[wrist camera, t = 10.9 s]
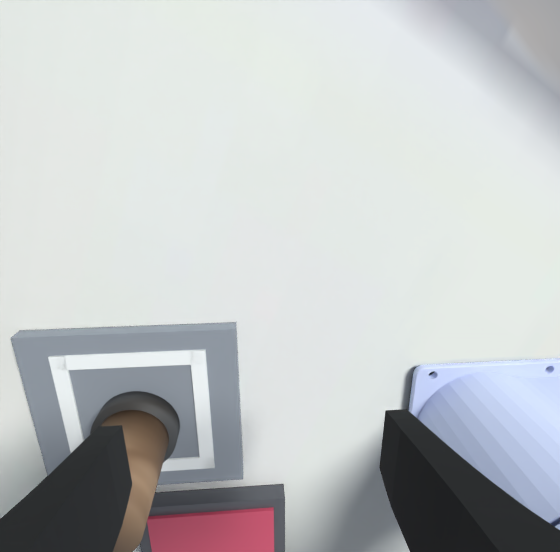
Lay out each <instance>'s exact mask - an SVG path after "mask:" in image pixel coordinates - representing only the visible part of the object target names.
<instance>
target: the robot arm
mask: <svg viewBox="0 0 560 552" xmlns="http://www.w3.org/2000/svg"><path fill="white" fill-rule="evenodd" d="M547 367H548V368H547ZM546 368H547V369H546ZM433 371H434V373H433V374H432V375H429V373H431V372H433ZM380 471H381V474H382V478H383V481H384V485H385V488H386V491H387V495H388V498H389V501H390V504H391V507H392V509H393V512H394V514H395V517H396V519H397V522H398V524H399V526H400V529H401V531H402V533H403V536H404V538H405V541H406V543H407V545H408V548H409V550H410V552H560V358H556V359H535V360H514V361H493V362H472V363H451V364H429V365H420V366H418V367H416V369H415V370H414V372H413V380H412V387H411V395H410V403H409V411H408V410H407V409H406V410H388V411H386V412H385V421H384V431H383V440H382V450H381V459H380ZM131 488H132V479H131V473H130V467H129V462H128V456H127V450H126V445H125V439H124V433H123V427H122V425H117V426H99V427H98V428H97V429H96V430H95V431H93V432H92V433H91V434H90V435H89V436H88V437H87V438H86V439H85V440H84V441H83V442H82V443H81V444H80V445H79V446H78V447H77V448H76V449H75V450H74V451H73V452H72V453H71V454H70V455H69V456H68V457H67V458H66V459H65V460H64V461H63V462H62V463H61V464H60V465H59V466H58V467H57V468H55V469H54V470H53V471H52V472H51V473H50V474H49V475H48V476H47V477H46V478H45V479H44V480H43V481H42V482H41V483H40V484H39V485H38V486H37V487H36V488H34V489H33V490H32V491H31V492H30V493H29V494H28V495H27V496H26V497H25V498H24V499H22V500H21V501H20V502H19V503H18V504H17V505H16V506H15V507H13V508H12V509H11V510H10V511H9V512H8V513H7V514H6V515H4V516H3V517H2V518H1V519H0V552H113V550H114V547H115V544H116V542H117V539H118V536H119V533H120V530H121V527H122V524H123V520H124V517H125V513H126V509H127V505H128V501H129V496H130V492H131Z"/></svg>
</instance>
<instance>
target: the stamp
mask: <svg viewBox="0 0 560 552" xmlns="http://www.w3.org/2000/svg"><path fill="white" fill-rule="evenodd" d="M117 425H122V427H123V433H124V439H125V445H126V450H127V456H128V462H129V467H130V473H131V479H132V488H131V492H130V496H129V501H128V505H127V509H126V513H125V517H124V520H123V524H122V527H121V530H120V533H119V536H118V539H117V542H116V544H115V547H114V550H113V552H132V551H134V550H135V549H136V548H137V546H138V545H139V544H140V542H141V540H142V537H143V534H144V530H145V527H146V523H147V519H148V516H149V512H150V509H151V505H152V501H153V498H154V494H155V491H156V487H157V483H158V480H159V476H160V472H161V469H162V465H163V463H164V462H165V461H166V460H167V459H168V458H169V457H170V456H171V455H172V453H173V451H174V449H175V446H176V443H177V439H178V435H179V430H180V421H179V417H178V414H177V412H176V411H175V409H174V408H173V407H172V405H171V404H170V403H168V402H167V401H166V400H165V399H163V398H161V397H159V396H157V395H155V394H152V393H148V392H142V391H131V392H125V393H122V394H119V395H116V396H114V397H113V398H111V399H110V400H108V401H107V402H106V403H105V404H104V406H103V407H102V408H101V410H100V412H99V414H98V415H97V417H96V419H95V421H94V422H93V425H92V427H91V431H90V434H91V433H92V432H93V431H95V430H96V429H97V428H98V427H99V426H117Z"/></svg>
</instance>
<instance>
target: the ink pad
mask: <svg viewBox="0 0 560 552" xmlns="http://www.w3.org/2000/svg"><path fill="white" fill-rule="evenodd" d="M140 544H141V550H142V552H285V496H284V485H283V484H279V485H264V486H249V487H235V488H220V489H205V490H191V491H176V492H161V493H155V494H154V498H153V501H152V505H151V509H150V512H149V516H148V519H147V523H146V527H145V530H144V534H143V537H142V540H141V542H140Z"/></svg>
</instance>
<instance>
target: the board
mask: <svg viewBox="0 0 560 552" xmlns="http://www.w3.org/2000/svg"><path fill="white" fill-rule="evenodd" d="M11 341H12V345H13V349H14V352H15V356H16V360H17V364H18V367H19V371H20V375H21V378H22V382H23V386H24V390H25V393H26V397H27V401H28V404H29V408H30V412H31V416H32V419H33V423H34V427H35V430H36V434H37V438H38V442H39V445H40V449H41V453H42V456H43V460H44V464H45V468H46V471H47V475H49V474H50V473H51V472H52V471H53V470H54V469H55V468H57V467H58V466H59V465H60V464H61V463H62V462H63V461H64V460H65V459H66V458H67V457H68V456H69V455H70V454H71V453H72V452H73V451H74V450H75V449H76V448H77V447H78V446H79V445H80V444H81V443H82V442H83V441H84V440H85V439H86V438H87V437H88V436H89V435H90V431H91V427H92V425H93V422H94V421H95V419H96V417H97V415H98V414H99V412H100V410H101V408H102V407H103V406H104V404H105V403H106V402H107V401H108V400H110V399H111V398H113V397H114V396H116V395H119V394H122V393H125V392H131V391H142V392H148V393H152V394H155V395H157V396H159V397H161V398H163V399H165V400H166V401H167V402H168V403H170V404H171V405H172V407H173V408H174V409H175V411H176V412H177V414H178V417H179V421H180V430H179V435H178V439H177V443H176V446H175V449H174V451H173V453H172V455H171V456H170V457H169V458H168V459H167V460H166V461H165V462H164V463H163V465H162V469H161V472H160V476H159V480H158V483H157V485H164V484H179V483H194V482H209V481H224V480H239V479H243V456H242V435H241V414H240V393H239V372H238V351H237V331H236V322H232V323H205V324H179V325H152V326H126V327H99V328H73V329H46V330H20V331H19V332H18V333H16V334H15V335H14V336H12V337H11Z"/></svg>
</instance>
